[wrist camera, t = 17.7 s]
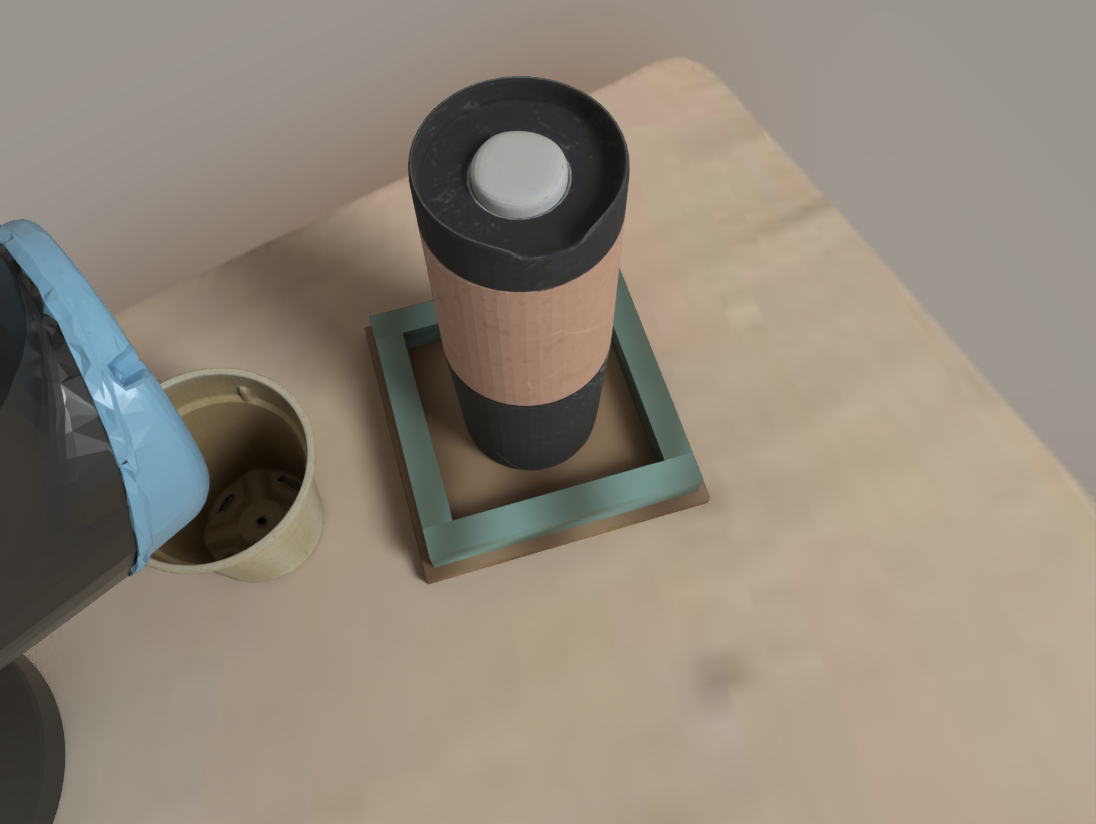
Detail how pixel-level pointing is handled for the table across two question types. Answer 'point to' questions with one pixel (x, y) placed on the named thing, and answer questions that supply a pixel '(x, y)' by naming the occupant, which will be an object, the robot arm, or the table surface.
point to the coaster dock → (523, 495)
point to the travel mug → (523, 258)
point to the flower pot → (245, 478)
